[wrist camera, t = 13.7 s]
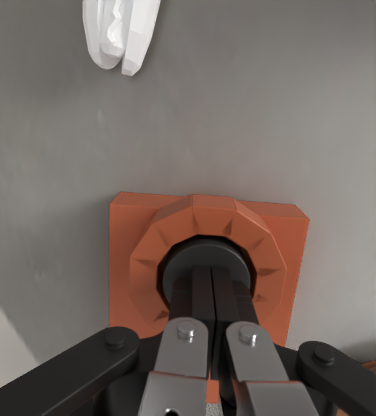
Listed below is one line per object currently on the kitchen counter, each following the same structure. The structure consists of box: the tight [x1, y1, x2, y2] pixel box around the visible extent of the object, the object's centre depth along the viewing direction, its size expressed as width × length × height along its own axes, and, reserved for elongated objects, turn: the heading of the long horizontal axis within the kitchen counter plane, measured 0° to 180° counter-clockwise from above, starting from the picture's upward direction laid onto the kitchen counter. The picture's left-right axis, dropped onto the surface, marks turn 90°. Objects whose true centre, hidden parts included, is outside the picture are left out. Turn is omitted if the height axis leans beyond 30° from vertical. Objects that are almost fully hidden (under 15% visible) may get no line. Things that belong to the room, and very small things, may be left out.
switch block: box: [109, 192, 310, 404], centre depth 16 cm, size 12×9×4 cm
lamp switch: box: [163, 234, 250, 303], centre depth 14 cm, size 4×4×2 cm
